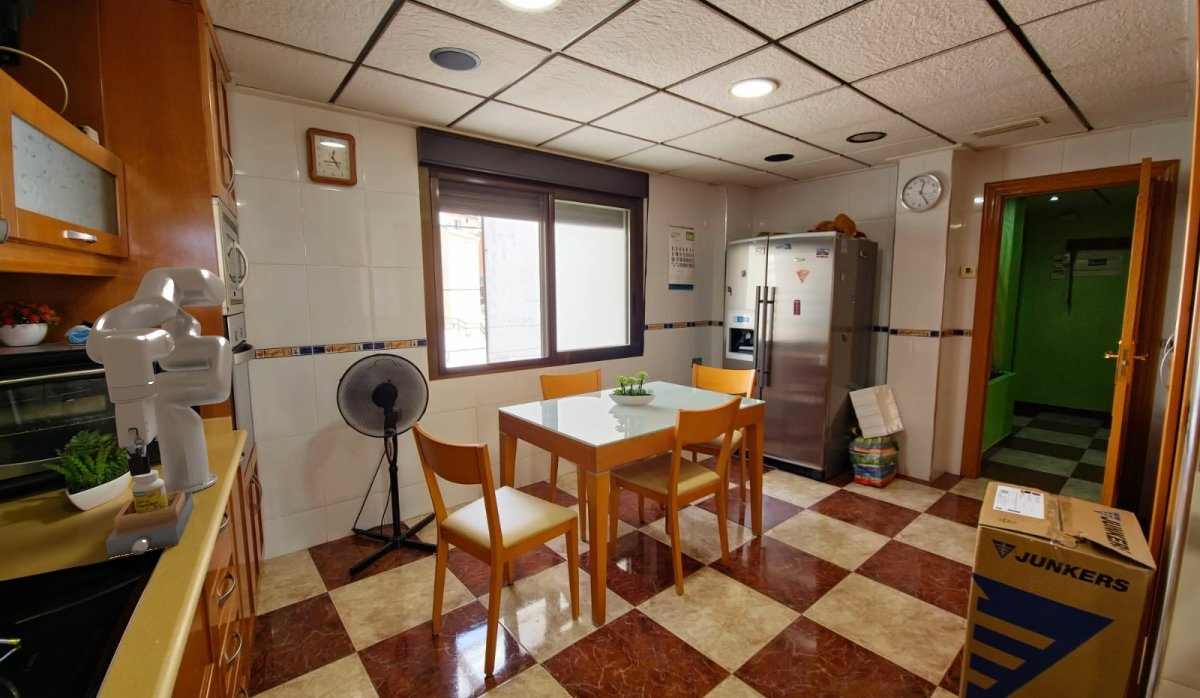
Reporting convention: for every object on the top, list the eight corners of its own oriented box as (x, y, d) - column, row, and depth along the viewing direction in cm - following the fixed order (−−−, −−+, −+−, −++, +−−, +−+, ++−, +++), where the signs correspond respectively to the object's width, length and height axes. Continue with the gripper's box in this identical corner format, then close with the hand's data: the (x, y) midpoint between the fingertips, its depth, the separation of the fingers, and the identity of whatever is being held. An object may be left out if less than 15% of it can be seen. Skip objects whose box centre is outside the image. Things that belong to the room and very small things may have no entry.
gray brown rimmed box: (134, 518, 118) (130, 492, 117) (193, 506, 124) (190, 481, 123) (104, 567, 99) (98, 537, 98) (175, 551, 105) (171, 522, 103)
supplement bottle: (172, 506, 116) (166, 466, 114) (164, 516, 111) (157, 475, 109) (142, 511, 114) (135, 471, 112) (132, 521, 109) (125, 480, 107)
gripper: (121, 384, 113) (134, 455, 116) (96, 404, 98) (111, 485, 102) (164, 380, 117) (175, 449, 120) (146, 399, 102) (160, 477, 106)
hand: (146, 466), depth 111 cm, fingers open, 9 cm apart
